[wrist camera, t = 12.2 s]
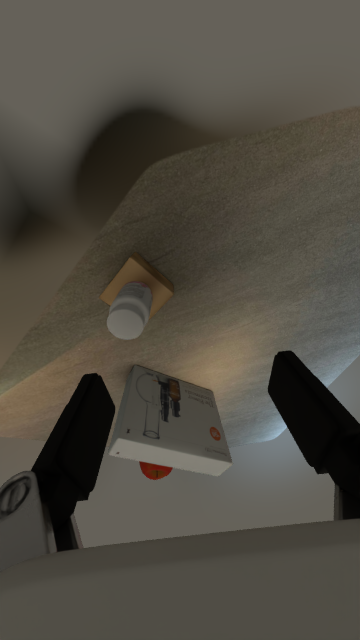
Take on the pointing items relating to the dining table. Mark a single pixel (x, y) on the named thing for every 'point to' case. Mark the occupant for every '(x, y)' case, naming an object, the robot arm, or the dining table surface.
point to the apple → (154, 470)
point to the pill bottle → (130, 310)
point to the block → (143, 273)
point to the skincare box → (169, 424)
